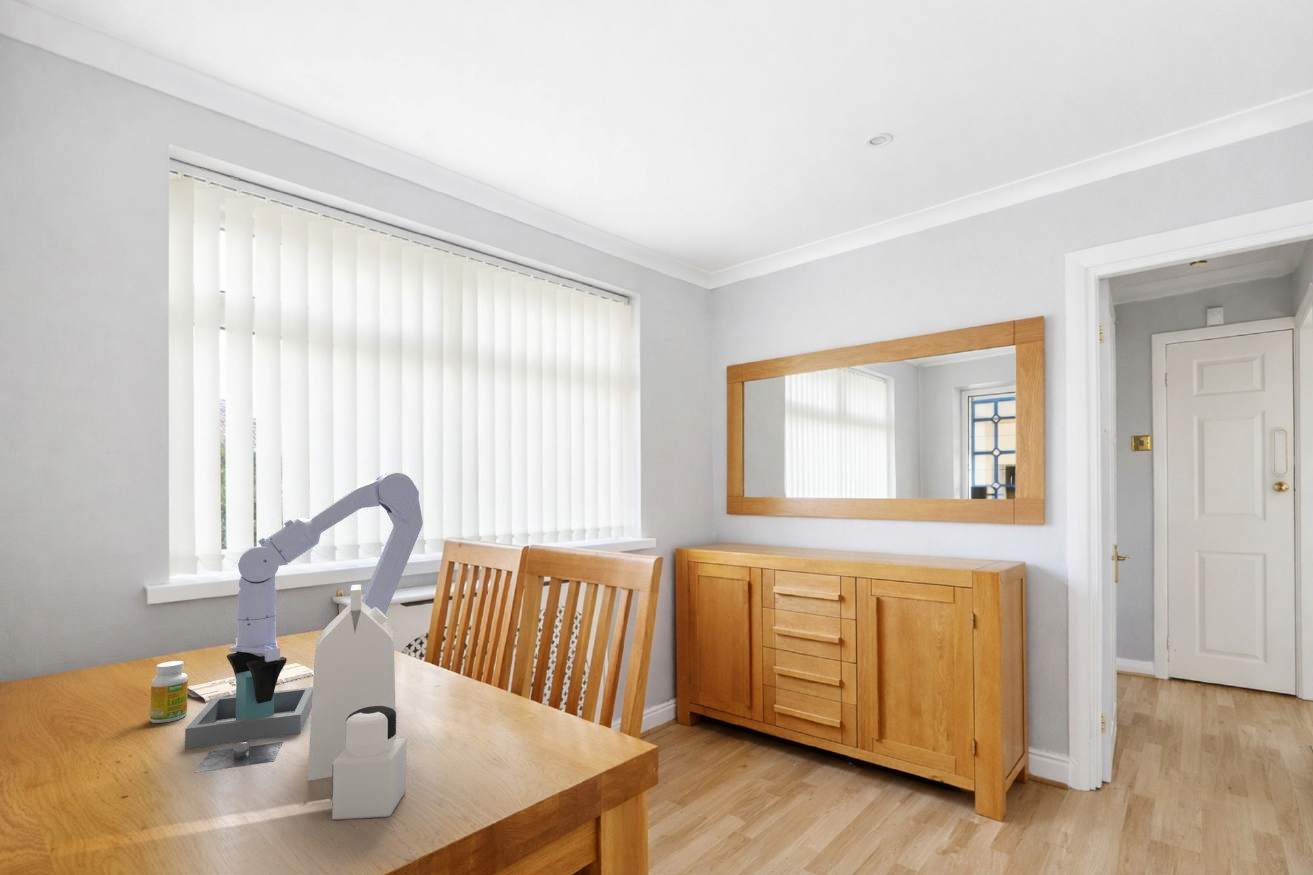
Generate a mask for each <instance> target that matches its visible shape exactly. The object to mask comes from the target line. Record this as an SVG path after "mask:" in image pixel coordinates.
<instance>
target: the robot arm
mask: <svg viewBox="0 0 1313 875" xmlns="http://www.w3.org/2000/svg"><path fill="white" fill-rule="evenodd" d="M416 486H417V485H415V483H414V482H413V480H412V478H410V476H409V475H407V474H405V473H402V472H393V473H384V474H382V475H379V476H378V477H377V478H376V479H374V480H369V481H367V482H366V483H363V484H362V485H360V486H358V487H355V488H354V489H352V490H351V491H350V492H348V493H347V494H345V495H343V497H341V498H339V499H338V500H336V501H335V502H333V503H332V504H331V505H329V506H328V507H326V508H325V509H323V510H322V511H321V512H319V513H317V515H314V516H313V517H311V518H310V519H308V518H301V517H298V518H296V519H295V520H292V519H289V520H286V522H284V524H283V525H284V527H282V528H281V529H279V530H277V531H276V532H275V533H273V534H271V535H270V536H269V537H267V538H265V537H262V538H260V539H259V540H258V541H257V542H258V543H259V545H260V546H258V545H257V546H253V547H249V548H248V549H247V550H245V551H244V552H243V553H242V555H241V556H240V558H239V562H238V564H237V566H238V571H239V574H240V575H241V576H240V579H239V581H238V587H239V590H238V593H237V627H236V628H237V630H236V632H237V635H236V636H237V637H235V638H234V645H231V646H229V647H228V651H229V652H230V653H229V654H227V655H226V658H227V660H228V662H229V664H230V665H231V667H232V670H233V673H234V677H236V679H237V673H241V672H246V671H250V672H251V675H252V678H253V683H254V690H255V698H256V701H257V703H258V704H260V703H264V702H268V701H271V700H272V697H273V694H274V691H276V686H277V685H276V683H277V680H278V677H279V674H280V672H281V670H282V668H283V667H284V666H285V665H287V659H288V658H287V657H284V656H281V655H280V654H281V647H279V646H278V640H277V639H276V638H277V636H276V635H277V592H278V591H277V588H276V574H277V572H278V570H279V567H280V566H287V565H288V564H290V563H292V562H293V561H294V560H296V559H297V558H299V557H301V556H302V555H304V554H305V553H307V552H308V551H310V550H311V549H313V548H314V547H315V546H317V545H318V544H319V543H320V539H321V534H322V533H324V532H325V531H326V530H328V529H329V528H331V527H333V526H335V525H337V524H338V523H339V522H341V521H343V520H344V519H346V518H348V517H349V516H351V515H353V514H354V513H356V512H357V511H359V510H361V509H365V508H366V509H368V508H373V507H380V506H381V507H382V508H383V509H384V510H385V511H386V513H387V515H388V517H389V519H390V521H391V522H392V526H393V527H392V529H391V531H390V534H389V536H388V538H387V540H386V543H385V546H384V548H383V550H382V552H381V554H380V558H379V559H378V562H377V564H376V567H375V569H374V571H373V573H372V576H371V579H370V580H369V583H368V585H367V587H366V589H365V591H364V594H363V595H362V596H363V597H362V602H364V603H365V604H366V605H367V606H368V607H370V608H371V609H373V608H374V607H377V608H378V609H379V610H380V611H381V612H382V613H384V615H385V616H386V614H387V611H388V610H389V607H390V606H391V605H390V604H391V602H392V600H393V597H394V595H395V592H396V590H397V589H398V585H399V583H400V581H401V578H402V575H403V573H404V571H405V568H406V566H407V564H408V561H409V559H410V556H411V554H412V552H413V549H414V546H415V544H416V542H417V540H418V537H419V535H420V532H421V530H422V528H423V524H424V523H423V516H422V511H421V505H420V504H421V503H420V499H419V498H420V496H419V495H420V492H419V489H418V488H417V487H416Z"/></svg>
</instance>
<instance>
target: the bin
mask: <svg viewBox="0 0 1313 875" xmlns="http://www.w3.org/2000/svg"><path fill="white" fill-rule="evenodd" d="M312 695H313V686H311V687H310V686H309V687H302V688H292V689H284V690H274V716H267V717H258V718H250V719H242V720H236V695H235V696H228V697H219V698H213V699H212V700H211V701H210V702H208V704H206V706H205V707H203V709H202V710H201V711H200V712H199V714H197V715H196V716H195V718H194V719H192V721H191V722H190V723H189V724H188V725H187V726H186V728H184V729H185V731H184V733H185V734H184V736H185V737H184V750H186V749H187V750H189V749H194V748H202V747H208V746H217V745H224V744H232V743H233V744H234V743H235V742H238V741H242V740H248V741H256V740H263V739H269V738H277V737H284V736H293V735H299V734H301V733H302V731H303V730H304V729H303V728H304V727H305V724H306V722H307V720H308V717H309V715H310V714H311V711H312ZM287 712H293V713H287ZM278 713H282V714H278ZM284 713H285V714H284ZM275 714H276V715H275ZM230 719H234V720H230ZM222 720H227V721H222ZM217 721H219V722H217Z"/></svg>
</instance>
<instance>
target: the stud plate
mask: <svg viewBox="0 0 1313 875" xmlns="http://www.w3.org/2000/svg"><path fill="white" fill-rule="evenodd" d="M283 744H284V741H279V742H272V743H271V742H270V743H264V744H256V745H255V744H254V745H250V740H242V741H238V742H233V748H228V749H220V750H214V751H209V752H208V753H207V755H206V756H205V757H204V758H203V760H202V761H201V762H200V764H199V765H198V767H197V768H196V769H195V771H194V772H193V773H194V774H199V773H203V772H204V773H205V772H211V771H216V770H224V769H232V768H240V767H245V766H252V765H258V764H259V765H260V764H266V763H267V764H268V763H273V762H275V761H276V758H277V756H278V755H279V752H280V750H281V749H282V746H283Z"/></svg>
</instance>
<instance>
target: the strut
mask: <svg viewBox="0 0 1313 875" xmlns="http://www.w3.org/2000/svg"><path fill="white" fill-rule="evenodd" d="M235 696H236V718H235V720H242V719H250V718H258V717H267V716H275V713H274V694H273V697H272V700H271V701H268V702H264V703H260V704H258V703H257V701H256V698H255V690H254V683H253V678H252V675H251V672H250V671H246V672H241V673H237V679H236V695H235Z"/></svg>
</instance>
